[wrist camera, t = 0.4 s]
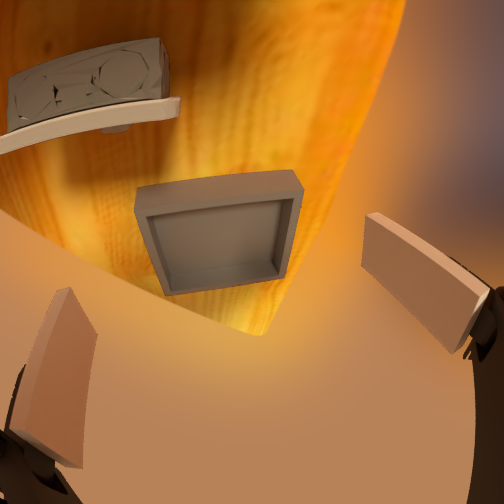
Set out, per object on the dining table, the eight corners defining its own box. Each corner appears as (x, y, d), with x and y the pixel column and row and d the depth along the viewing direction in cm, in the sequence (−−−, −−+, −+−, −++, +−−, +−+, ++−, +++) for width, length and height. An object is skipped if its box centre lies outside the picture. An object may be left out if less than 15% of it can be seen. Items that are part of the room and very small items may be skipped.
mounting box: (137, 187, 21) (133, 210, 19) (292, 169, 24) (304, 189, 22) (164, 274, 31) (165, 296, 29) (277, 258, 33) (284, 278, 31)
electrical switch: (62, 124, 15) (2, 188, 8) (55, 62, 11) (-21, 91, 5) (181, 106, 17) (181, 157, 11) (183, 39, 13) (183, 35, 7)
